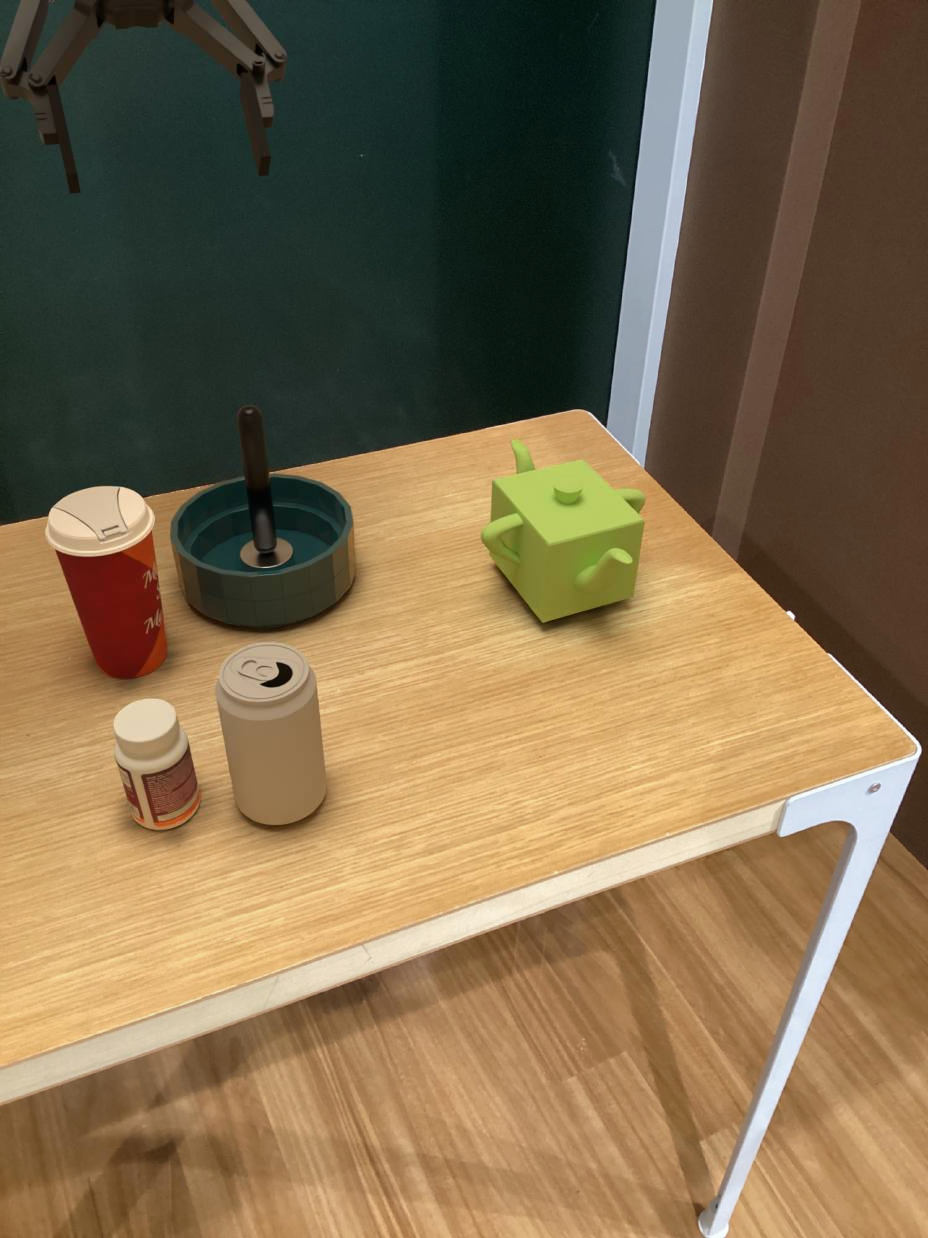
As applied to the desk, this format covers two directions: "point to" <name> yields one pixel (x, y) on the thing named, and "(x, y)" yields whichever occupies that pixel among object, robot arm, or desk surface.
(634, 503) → the teapot
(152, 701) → the pill bottle
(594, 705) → the desk surface
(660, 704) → the desk surface
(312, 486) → the bowl
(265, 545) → the rod on base
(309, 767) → the beverage can
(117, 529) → the paper cup
